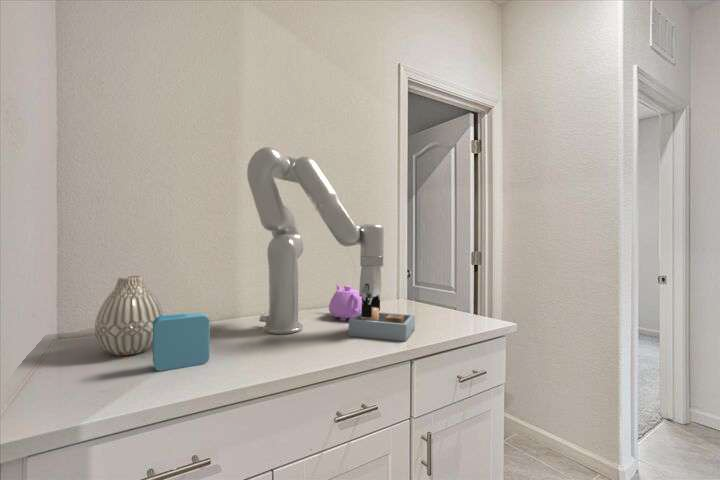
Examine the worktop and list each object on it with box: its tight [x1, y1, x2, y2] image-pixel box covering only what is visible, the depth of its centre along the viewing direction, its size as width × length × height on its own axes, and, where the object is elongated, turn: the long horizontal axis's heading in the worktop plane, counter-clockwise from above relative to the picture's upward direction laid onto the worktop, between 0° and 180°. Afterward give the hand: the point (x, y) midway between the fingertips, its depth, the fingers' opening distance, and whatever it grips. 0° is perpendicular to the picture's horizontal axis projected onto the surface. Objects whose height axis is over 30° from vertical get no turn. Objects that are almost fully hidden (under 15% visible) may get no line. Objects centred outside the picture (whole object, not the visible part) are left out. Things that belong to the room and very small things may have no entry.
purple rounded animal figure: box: [328, 282, 362, 322], centre depth 145 cm, size 20×14×12 cm
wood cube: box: [385, 314, 404, 324], centre depth 121 cm, size 5×5×5 cm
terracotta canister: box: [364, 307, 380, 321], centre depth 124 cm, size 5×5×7 cm
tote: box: [348, 311, 416, 342], centre depth 123 cm, size 18×14×5 cm
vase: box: [94, 275, 165, 356], centre depth 101 cm, size 16×16×20 cm
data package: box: [152, 311, 211, 372], centre depth 91 cm, size 12×4×12 cm, turn 122°
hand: (371, 313), depth 124 cm, fingers open, 9 cm apart
